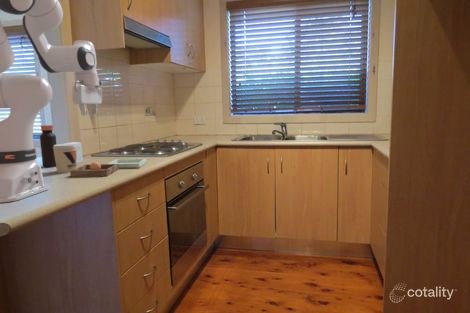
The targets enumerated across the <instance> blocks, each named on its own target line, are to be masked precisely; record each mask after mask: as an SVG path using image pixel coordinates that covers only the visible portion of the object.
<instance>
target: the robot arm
mask: <svg viewBox="0 0 470 313" xmlns="http://www.w3.org/2000/svg"><path fill="white" fill-rule="evenodd" d="M0 11H2V12H4V13H6V14H11V15H15V16H16V15H17V16H20V15H22V16H23V17H22V27H23V30H24V33H25V34H26V35H27V38H28V39H29V42H30V44H31V45H32V47H33V49H34V52H35V53H36V55H37V57H38V60H39V64H40V65H41V67H42V68H43V70H44V71H46V72H48V73H50V74H56V73H72V72H74V84H73V86H72V102H73V104H74V105H78V107H79V109H80V113H81V116H88V110H87V109H86V106H87V105H91V107H92V108H91V115H92V116H93V115H96V116H97V114H98V107H99V105H101V104H102V102H103V88H102V87H103V81H101V80H100V78H99V76H98V75H99V74H98V71H97V66H98V62H97V53H96V49H95V46H94V43H92V42H91V41H89V40H84V39H77V40H74V41H73V45H53V44H50V43H49V42H48V40H47V37H46V36H45V34H46V33H49V32H52V31H54V30H56V29H57V27H59V26H60V24H61V23H62V21H63V18H64V10H63V7H62V5H61V3H60V0H0ZM14 62H15V54H14V52H13V49H12V45H11V43H10V41H9V39H8V36H7V34H6V31H5V28H4V27H3V24H2V21H1V20H0V109H10V111H9V112H10V113H9V114H8V116H7V118H4V119H2V120H0V203H10V202H15V201H20V200H22V199H25V198H29V197H31V196H34V195H36V194H39V193H43V192H45V191H47V190H49V187H48V186H47V185H45V181H44V177H43V171H42V168H41V165H39V163H38V162H37V161H36V159H37V150H36V148H35V145H34V124H35V121H36V118H37V117H38V114H39V113H40V112H41V110H43V109H44V108H45V107H46V106H48V105H49V104H50V102H51V101H52V98H53V94H54V93H53V88H52V86H51V84H50V82H49V81H48V80H47V79H46V78H45V77H43V76H39V75H32V74H12V73H11V74H8V73H7V74H6V73H4V72H6V71H7V70H9V69H10V68H11V67H12V66H13V64H14Z"/></svg>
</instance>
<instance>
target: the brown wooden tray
mask: <svg viewBox="0 0 470 313" xmlns="http://www.w3.org/2000/svg"><path fill="white" fill-rule="evenodd" d="M90 165H91V163H89V164H84V165H81V166H79V167H76V169H74V170H71V171H70V172H69V173H70V177H71V178H86V177H87V178H88V177H92V178H93V177H108V176H111V175H112V174H113V173H115V172H117V171H118V170H119V167H118V164H108V163H106V164H105V163H100V165H101V169H100V170H91V169H90Z"/></svg>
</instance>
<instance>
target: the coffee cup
mask: <svg viewBox="0 0 470 313" xmlns="http://www.w3.org/2000/svg"><path fill="white" fill-rule="evenodd" d="M56 144H57V143H56ZM53 149H54V155H55V161H56V167H55V168H56V171H57V173H60V174H66V173H70V171H71V170H74V169H76V168H77V163H76V144H65V143H58V144H57V145H54V147H53Z"/></svg>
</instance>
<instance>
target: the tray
mask: <svg viewBox="0 0 470 313" xmlns="http://www.w3.org/2000/svg"><path fill="white" fill-rule="evenodd" d="M145 163H146V164H147V158H116V159H114V160H112V161H110V162H108V163H107V164H118V167H119V169H140V168H142V167H143V166H144V165H146V164H145ZM143 164H144V165H143ZM142 165H143V166H142ZM141 166H142V167H141ZM119 169H118V170H119Z"/></svg>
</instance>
